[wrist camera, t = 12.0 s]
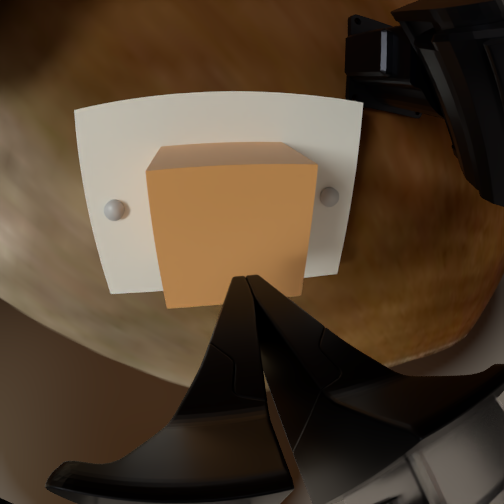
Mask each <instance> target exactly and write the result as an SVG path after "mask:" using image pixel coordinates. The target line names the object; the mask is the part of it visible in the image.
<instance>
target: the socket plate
mask: <svg viewBox="0 0 504 504" xmlns="http://www.w3.org/2000/svg"><path fill="white" fill-rule="evenodd" d="M362 112H363V103H362V102H356V101H350V100H344V99H337V98H329V97H321V96H312V95H302V94H290V93H275V92H243V91H228V92H197V93H181V94H169V95H159V96H151V97H143V98H135V99H129V100H122V101H116V102H111V103H105V104H100V105H95V106H90V107H86V108H81V109H77V110H74V114H75V126H76V136H77V145H78V153H79V161H80V168H81V174H82V180H83V186H84V191H85V197H86V202H87V207H88V212H89V216H90V221H91V225H92V229H93V233H94V237H95V241H96V245H97V249H98V253H99V256H100V260H101V264H102V267H103V270H104V274H105V277H106V280H107V283H108V287H109V290H110V293H111V294H121V293H137V292H152V291H163V286H162V281H161V276H160V270H159V265H158V259H157V253H156V247H155V241H154V235H153V228H152V221H151V214H150V207H149V199H148V190H147V181H146V172H145V171H146V169H147V168H148V166H149V165H150V163H151V161H152V160H153V158H154V157H155V155H156V154H157V152H158V150H159V149H160V147H162V146H173V145H185V144H201V143H222V142H283V143H284V144H286V145H288V146H289V147H291V148H293V149H294V150H296V151H297V152H299V153H301V154H302V155H304V156H305V157H307V158H309V159H310V160H312V161H313V162H315V163H316V164H318V171H317V180H316V190H315V198H314V207H313V215H312V223H311V231H310V238H309V246H308V253H307V260H306V266H305V273H304V278H306V277H315V276H324V275H332V274H337V272H338V268H339V263H340V258H341V254H342V249H343V244H344V239H345V234H346V228H347V223H348V217H349V212H350V206H351V200H352V193H353V187H354V180H355V173H356V166H357V158H358V150H359V142H360V133H361V123H362Z"/></svg>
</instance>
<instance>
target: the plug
mask: <svg viewBox="0 0 504 504" xmlns="http://www.w3.org/2000/svg"><path fill="white" fill-rule="evenodd" d="M317 171H318V164H316V163H315V162H313V161H312V160H310V159H309V158H307V157H305V156H304V155H302V154H301V153H299V152H297V151H296V150H294V149H293V148H291V147H289V146H288V145H286V144H284V143H283V142H222V143H201V144H185V145H173V146H162V147H160V149H159V150H158V152H157V154H156V155H155V157H154V158H153V160H152V161H151V163H150V165H149V166H148V168H147V169H146V171H145V172H146V181H147V190H148V199H149V207H150V214H151V221H152V228H153V235H154V241H155V247H156V253H157V259H158V265H159V270H160V276H161V281H162V286H163V291H164V296H165V301H166V305H167V309H169V308H183V307H196V306H208V305H219V304H223V302H224V300H225V297H226V294H227V291H228V288H229V285H230V282H231V280H232V278H233V277H234V276H245V277H246V276H247V275H256V274H257V275H259V276H261V277H262V278H263V279H264V280H266V281H267V282H268V283H270V284H271V285H272V286H273V287H275V288H276V289H277V290H278V291H280V292H281V293H282V294H284V295H285V296H286V297H294V296H301V292H302V286H303V280H304V273H305V266H306V260H307V253H308V246H309V238H310V231H311V223H312V215H313V207H314V198H315V190H316V180H317Z"/></svg>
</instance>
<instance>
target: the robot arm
mask: <svg viewBox="0 0 504 504" xmlns="http://www.w3.org/2000/svg"><path fill="white" fill-rule="evenodd" d="M391 14H392V15H393V17H394V18H395V20H396V21H398V22H399V23H400V26H394V27H392V26H390V25H387V24H384V23H381V22H378V21H375V20H372V19H369V18H366V17H363V16H360V15H353V16H350V17H349V18H348V37H347V38H346V50H345V73H346V75H347V79H346V96H345V97H346V100H350V101H353V100H352V95H355V100H354V101H356V102H362V103H363V107H367V108H373V109H378V110H383V111H388V112H393V113H397V114H401V115H406V116H410V117H414V118H420V117H421V115H422V113H423V114H428V115H431V116H435V117H439V118H443V119H445V122H446V125H447V128H448V131H449V134H450V137H451V140H452V144H453V145H452V149H453V152H454V155H455V156H456V157H457V158H458V159H459V163H460V167H461V169H462V171H463V174H464V176H465V178H466V179H467V180H468V181H469V182H470V183H471V184H472V185H473V186H474V187H475V188H476V189H477V190H479V194H480V196H481V197H482V198H483V199H485V200H487V201H489V202H491V203H493V204H496V205H500V206H504V0H418V1H416V2H413V3H411V4H408V5H406V6H403V7H401V8H398V9H396V10H394V11H391ZM355 19H356V20H357V21H358V24H356V23H355V21H354V20H355ZM415 112H416V114H415ZM263 371H264V374H265V377H266V380H267V383H268V386H269V388H270V391H271V394H272V397H273V400H274V403H275V405H276V408H277V411H278V414H279V416H280V419H281V422H282V425H283V427H284V430H285V433H286V435H287V438H288V441H289V444H290V446H291V449H292V451H293V454H294V457H295V460H296V462H297V465H298V468H299V470H300V473H301V476H302V478H303V481H304V483H305V486H306V488H307V491H308V493H309V496H310V498H311V501H312V503H313V504H332V503H335V502H338V501H341V500H344V501H345V504H504V407H503V405H502V404H501V402H500V401H499V399H498V396H499V395H500V394H501V393H502V392H503V391H504V364H494V365H492V366H491V367H490V368H488V369H487V370H485V371H483V372H480V373H477V374H472V375H460V376H406V375H403V374H399V373H397V372H394V371H393V370H391V369H389V368H387V367H386V366H384V365H382V364H381V363H379V362H377V361H376V360H374V359H372V358H371V357H369V356H367V355H365V354H364V353H362V352H361V351H359V350H357V349H356V348H354V347H353V346H351V345H350V344H348V343H346V342H345V341H344V340H342V339H341V338H339V337H338V336H337V335H335V334H334V333H333V332H331V331H330V330H329V329H327V328H325V326H323V325H322V324H321V323H320V322H318V321H317V320H316V319H314V318H313V317H312V316H311V315H309V314H308V313H307V312H305V311H304V310H303V309H302V308H300V307H299V306H298V305H296V304H295V303H294V302H293V301H291V300H290V299H289V298H287V297H286V296H285V295H284V294H282V293H281V292H280V291H278V290H277V289H276V288H275V287H273V286H272V285H271V284H270V283H268V282H267V281H266V280H264V279H263V278H262V277H261V276H259V275H257V274H256V275H247V276H246V277H245V276H234V277H233V278H232V280H231V282H230V285H229V288H228V291H227V294H226V297H225V300H224V302H223V305H222V308H221V311H220V314H219V317H218V320H217V322H216V325H215V328H214V331H213V334H212V337H211V340H210V343H209V345H208V348H207V351H206V354H205V356H204V359H203V361H202V364H201V366H200V368H199V370H198V372H197V374H196V376H195V378H194V380H193V382H192V384H191V386H190V388H189V389H188V391H187V393H186V395H185V397H184V399H183V400H182V402H181V404H180V406H179V408H178V410H177V411H176V413H175V415H174V416H173V418H172V419H171V421H170V422H169V423H168V424H167V426H165V428H163V429H162V430H161V431H159V432H158V433H157V434H155V435H154V436H153V437H151V438H150V439H149V440H148V441H146V442H145V443H143V444H142V445H140V446H139V447H138V448H136V449H135V450H133V451H132V452H131V453H129V454H128V455H126V456H125V457H123V458H121V459H120V460H117V461H115V462H112V463H106V464H93V463H86V462H79V461H66V462H63V463H62V464H61V465H60V466H59V467H58V468H57V469H55V470H54V471H53V472H52V474H51V475H50V476H49V478H48V480H47V482H46V485H45V487H46V488H47V490H49V491H50V492H52V493H54V494H57V495H59V496H61V497H63V498H66V499H68V500H70V501H73V502H75V503H78V504H280V503H281V502H282V501H283V500H284V499H285V498H286V497H287V496H288V495H289V494H290V493H291V491H293V489H294V485H293V480H292V477H291V475H290V472H289V469H288V467H287V464H286V461H285V459H284V456H283V453H282V451H281V448H280V445H279V442H278V440H277V437H276V434H275V431H274V429H273V426H272V423H271V421H270V416H269V411H268V405H267V397H266V389H265V381H264V374H263ZM0 504H12V503H10V502H8V501H6V500H4V499H1V498H0Z"/></svg>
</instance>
